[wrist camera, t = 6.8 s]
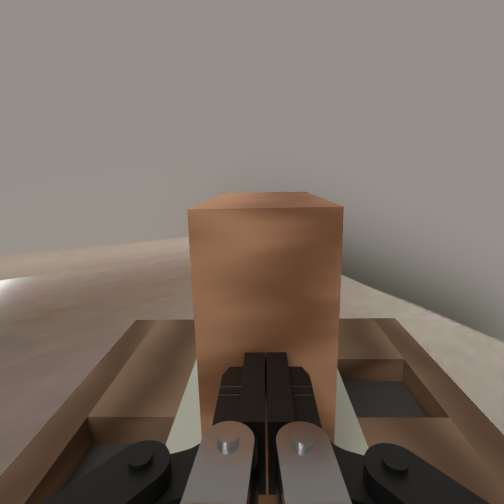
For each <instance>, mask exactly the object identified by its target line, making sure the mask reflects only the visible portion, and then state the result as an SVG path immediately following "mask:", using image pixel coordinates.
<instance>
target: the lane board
mask: <svg viewBox="0 0 504 504" xmlns="http://www.w3.org/2000/svg"><path fill="white" fill-rule="evenodd" d="M145 440H155V441H159V442H161V443H163V444H164V445H166V446H167V448H168V449H169V452H170V454H172V453H176V452H180V451H184V450H187V449H190V448H192V447H195V446H196V445H198V444H200V443H201V440H202V435H201V419H200V403H199V387H198V371H197V355H196V339H195V323H194V320H136V321H135V322H134V323H133V325H132V326H131V327H130V328H129V329H128V330H127V331H126V333H125V334H124V335H123V336H122V337H121V338H120V340H119V341H118V342H117V343H116V344H115V345H114V346H113V348H112V349H111V350H110V351H109V352H108V353H107V354H106V356H105V357H104V358H103V359H102V360H101V361H100V363H99V364H98V365H97V366H96V367H95V368H94V369H93V371H92V372H91V373H90V374H89V375H88V376H87V377H86V379H85V380H84V381H83V382H82V383H81V384H80V386H79V387H78V388H77V389H76V390H75V391H74V392H73V394H72V395H71V396H70V397H69V398H68V399H67V400H66V402H65V403H64V404H63V405H62V406H61V407H60V409H59V410H58V411H57V412H56V413H55V414H54V415H53V417H52V418H51V419H50V420H49V421H48V422H47V423H46V425H45V426H44V427H43V428H42V429H41V430H40V432H39V433H38V434H37V435H36V436H35V437H34V438H33V440H32V441H31V442H30V443H29V444H28V445H27V447H26V448H25V449H24V450H23V451H22V452H21V453H20V455H19V456H18V457H17V458H16V459H15V460H14V461H13V463H12V464H11V465H10V466H9V467H8V468H7V470H6V471H5V472H4V473H3V474H2V475H1V476H0V504H43V503H44V502H46V501H47V500H49V499H50V498H52V497H53V496H55V495H56V494H58V493H59V492H60V491H62V490H63V489H65V488H66V487H68V486H69V485H71V484H72V483H74V482H75V481H77V480H78V479H80V478H81V477H83V476H84V475H86V474H87V473H89V472H90V471H92V470H93V469H95V468H96V467H98V466H99V465H101V464H102V463H104V462H105V461H107V460H108V459H110V458H111V457H113V456H114V455H116V454H117V453H119V452H120V451H122V450H123V449H125V448H126V447H128V446H130V445H132V444H134V443H137V442H140V441H145ZM379 443H391V444H396V445H399V446H402V447H404V448H406V449H408V450H409V451H411V452H413V453H414V454H416V455H417V456H419V457H420V458H422V459H423V460H425V461H426V462H428V463H429V464H431V465H432V466H434V467H435V468H437V469H438V470H440V471H441V472H443V473H444V474H446V475H447V476H449V477H450V478H452V479H453V480H455V481H456V482H458V483H460V484H461V485H463V486H464V487H466V488H467V489H469V490H470V491H472V492H473V493H475V494H476V495H478V496H479V497H481V498H482V499H484V500H485V501H487V502H488V503H490V504H504V435H503V434H502V433H501V432H500V431H499V430H498V429H497V428H496V426H495V425H494V424H493V423H492V422H491V421H490V420H489V419H488V418H487V417H486V416H485V415H484V414H483V413H482V411H481V410H480V409H479V408H478V407H477V406H476V405H475V404H474V403H473V402H472V401H471V400H470V399H469V397H468V396H467V395H466V394H465V393H464V392H463V391H462V390H461V389H460V388H459V387H458V386H457V385H456V383H455V382H454V381H453V380H452V379H451V378H450V377H449V376H448V375H447V374H446V373H445V372H444V371H443V370H442V368H441V367H440V366H439V365H438V364H437V363H436V362H435V361H434V360H433V359H432V358H431V357H430V356H429V354H428V353H427V352H426V351H425V350H424V349H423V348H422V347H421V346H420V345H419V344H418V343H417V342H416V341H415V339H414V338H413V337H412V336H411V335H410V334H409V333H408V332H407V331H406V330H405V329H404V328H403V327H402V325H401V324H400V323H399V322H398V321H397V320H396V319H395V318H368V319H339V335H338V361H337V386H336V411H335V437H334V444H335V445H336V446H338V447H340V448H342V449H344V450H347V451H350V452H354V453H357V454H361V455H365V452H366V451H367V449H368V448H369V447H371V446H372V445H375V444H379Z"/></svg>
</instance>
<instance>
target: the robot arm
mask: <svg viewBox="0 0 504 504" xmlns="http://www.w3.org/2000/svg"><path fill="white" fill-rule="evenodd" d="M266 361H267V433H268V495H276V504H490V503H488V502H487V501H485V500H484V499H482V498H481V497H479V496H478V495H476V494H475V493H473V492H472V491H470V490H469V489H467V488H466V487H464V486H463V485H461V484H460V483H458V482H456V481H455V480H453V479H452V478H450V477H449V476H447V475H446V474H444V473H443V472H441V471H440V470H438V469H437V468H435V467H434V466H432V465H431V464H429V463H428V462H426V461H425V460H423V459H422V458H420V457H419V456H417V455H416V454H414V453H413V452H411V451H409V450H408V449H406V448H404V447H402V446H399V445H396V444H391V443H379V444H375V445H372V446H371V447H369V448H368V449H367V451H366V452H365V455H361V454H357V453H354V452H350V451H347V450H344V449H342V448H340V447H338V446H336V445H335V444H333V443H332V442H331V441H330V439H329V437H328V435H327V434H326V432H325V431H324V430H323V429H322V426H321V422H320V418H319V413H318V409H317V405H316V400H315V396H314V392H313V387H312V383H311V379H310V375H309V374H308V373H307V372H306V371H305V370H304V368H303V367H302V366H288V361H287V353H286V352H266ZM259 495H266V429H265V352H245V355H244V364H243V367H229V368H228V369H227V370H226V372H225V373H224V374H223V375H222V379H221V384H220V389H219V395H218V399H217V404H216V408H215V413H214V418H213V423H212V426H211V427H210V428H209V429H208V430H207V431H206V432H205V433H204V435H203V437H202V440H201V443H200V444H198V445H196V446H195V447H192V448H190V449H187V450H184V451H180V452H176V453H172V454H170V452H169V449H168V448H167V446H166V445H164V444H163V443H161V442H159V441H155V440H145V441H140V442H137V443H134V444H132V445H130V446H128V447H126V448H125V449H123V450H122V451H120V452H119V453H117V454H116V455H114V456H113V457H111V458H110V459H108V460H107V461H105V462H104V463H102V464H101V465H99V466H98V467H96V468H95V469H93V470H92V471H90V472H89V473H87V474H86V475H84V476H83V477H81V478H80V479H78V480H77V481H75V482H74V483H72V484H71V485H69V486H68V487H66V488H65V489H63V490H62V491H60V492H59V493H58V494H56V495H55V496H53V497H52V498H50V499H49V500H47V501H46V502H44V503H43V504H259Z"/></svg>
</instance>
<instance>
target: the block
mask: <svg viewBox="0 0 504 504" xmlns="http://www.w3.org/2000/svg"><path fill="white" fill-rule="evenodd" d="M343 208H344V207H343V206H341V205H338V204H335V203H333V202H330V201H328V200H325V199H322V198H319V197H317V196H315V195H312V194H309V193H307V192H275V193H273V192H271V193H223V194H221V195H219V196H217V197H214V198H212V199H210V200H207V201H205V202H203V203H201V204H198V205H196V206H194V207H192V208H189V209H187V212H188V227H189V244H190V260H191V276H192V292H193V308H194V323H195V339H196V355H197V371H198V387H199V403H200V419H201V435H202V437H203V435H204V433H205V432H206V431H207V430H208V429H209V428H210V427H211V426H212V423H213V418H214V413H215V408H216V404H217V399H218V395H219V389H220V384H221V379H222V375H223V374H224V373H225V372H226V370H227V369H228V368H229V367H243V364H244V355H245V352H265V429H266V495H259V504H276V495H268V433H267V361H266V352H286V353H287V361H288V366H302V367H303V368H304V370H305V371H306V372H307V373H308V374H309V375H310V379H311V383H312V387H313V392H314V396H315V400H316V405H317V409H318V413H319V418H320V422H321V426H322V429H323V430H324V431H325V432H326V434H327V435H328V437H329V439H330V441H331V442H332V443H333V444H334V437H335V411H336V386H337V361H338V335H339V310H340V285H341V259H342V234H343Z"/></svg>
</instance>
